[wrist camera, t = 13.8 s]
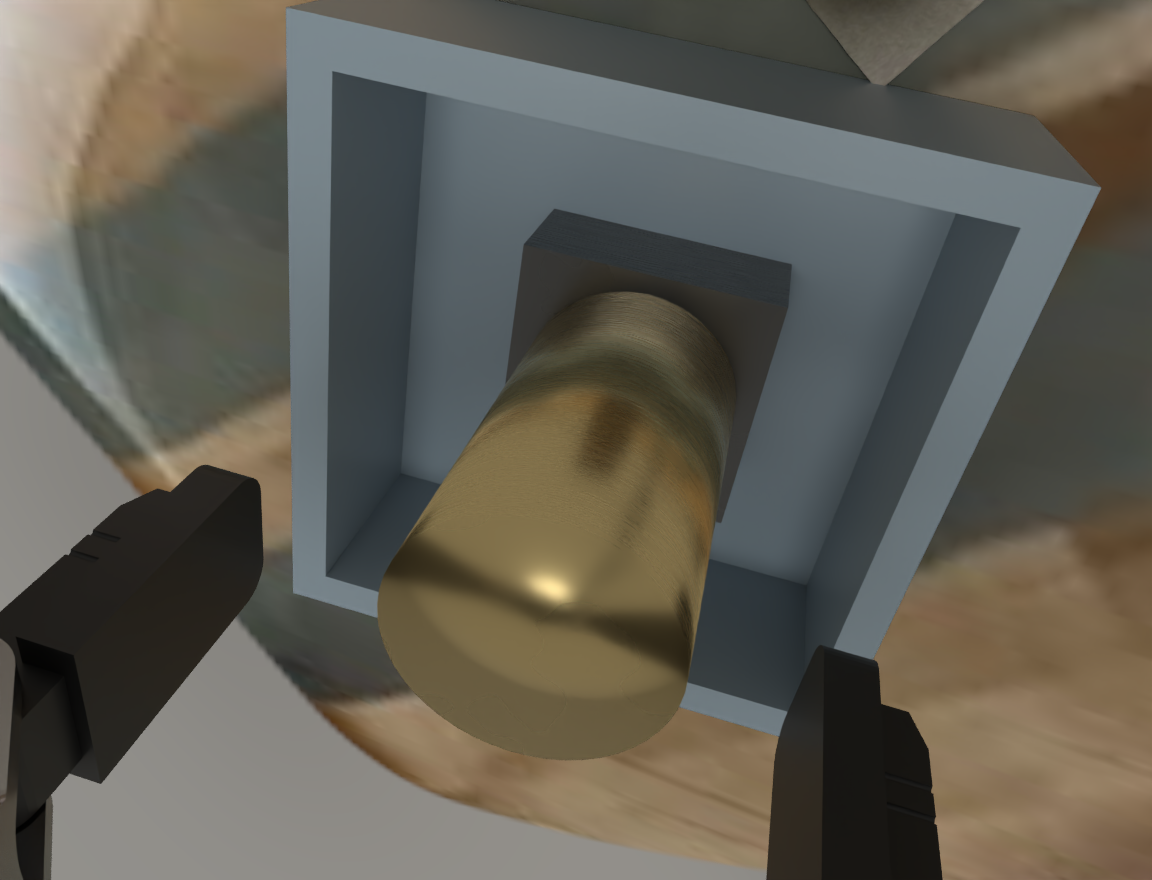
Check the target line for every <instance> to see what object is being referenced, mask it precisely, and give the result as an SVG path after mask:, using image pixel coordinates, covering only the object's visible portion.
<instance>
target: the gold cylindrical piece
mask: <svg viewBox="0 0 1152 880" xmlns="http://www.w3.org/2000/svg"><path fill="white" fill-rule="evenodd" d="M791 270H792V264H789V263H784V262H780V261H776V260H772V259H767V258H763V257H759V256H755V255H750V254H746V253H742V252H737V251H733V250H729V249H725V248H720V247H716V246H712V245H708V244H703V243H699V242H695V241H691V240H686V239H682V238H678V237H674V236H669V235H665V234H661V233H657V232H652V231H648V230H644V229H639V228H635V227H631V226H627V225H622V224H618V223H614V222H610V221H605V220H601V219H597V218H593V217H588V216H584V215H580V214H576V213H571V212H567V211H563V210H559V209H553V211H552V212H551V213H550V214H549V215H548V216H547V218H546V219H545V220H544V221H543V222H542V224H541V225H540V226H539V227H538V228H537V229H536V231H535V232H534V233H533V234H532V235H531V236H530V238H529V239H528V240H527V241H526V242H525V243H524V245H523V253H522V260H521V268H520V276H519V283H518V291H517V298H516V306H515V314H514V321H513V329H512V336H511V344H510V351H509V359H508V367H507V374H506V382H505V386H504V388H503V389H502V391H501V392H500V394H499V396H498V397H497V399H496V400H495V402H494V403H493V405H492V406H491V408H490V409H489V411H488V413H487V414H486V416H485V417H484V419H483V420H482V422H481V423H480V425H479V426H478V428H477V430H476V431H475V433H474V434H473V436H472V437H471V439H470V440H469V442H468V443H467V445H466V447H465V448H464V450H463V451H462V453H461V454H460V456H459V457H458V459H457V460H456V462H455V464H454V465H453V467H452V468H451V470H450V471H449V473H448V474H447V476H446V477H445V479H444V481H443V482H442V484H441V485H440V487H439V488H438V490H437V491H436V493H435V494H434V496H433V498H432V499H431V501H430V502H429V504H428V505H427V507H426V508H425V510H424V511H423V513H422V515H421V516H420V518H419V519H418V521H417V522H416V524H415V525H414V527H413V528H412V530H411V532H410V533H409V535H408V536H407V538H406V539H405V541H404V542H403V544H402V545H401V547H400V549H399V550H398V552H397V553H396V555H395V556H394V558H393V559H392V561H391V563H390V564H389V566H388V568H387V570H386V572H385V574H384V576H383V579H382V582H381V585H380V588H379V594H378V601H377V615H378V623H379V629H380V634H381V637H382V640H383V643H384V646H385V648H386V651H387V653H388V655H389V657H390V659H391V661H392V663H393V665H394V666H395V668H396V669H397V671H398V672H399V674H400V675H401V677H402V678H403V680H404V681H405V682H406V683H407V684H408V686H409V687H410V688H411V689H412V690H413V692H414V693H415V694H416V695H417V696H418V697H419V698H420V699H421V700H422V701H423V702H424V703H425V704H426V705H427V706H429V707H430V708H431V709H432V710H434V711H435V712H436V713H437V714H439V715H440V716H441V717H442V718H444V719H445V720H447V721H448V722H450V723H451V724H453V725H454V726H456V727H457V728H459V729H461V730H463V731H464V732H466V733H468V734H470V735H472V736H473V737H476V738H478V739H480V740H482V741H484V742H487V743H489V744H491V745H494V746H497V747H500V748H502V749H505V750H508V751H511V752H515V753H519V754H523V755H527V756H532V757H538V758H544V759H555V760H586V759H594V758H602V757H606V756H610V755H614V754H618V753H621V752H623V751H626V750H629V749H631V748H634V747H636V746H637V745H639V744H641V743H643V742H645V741H647V740H648V739H650V738H651V737H652V736H654V735H655V734H656V733H658V732H659V731H660V730H661V729H662V728H663V727H664V726H665V725H666V724H667V723H668V722H669V721H670V720H671V718H672V717H673V715H674V714H675V712H676V711H677V709H678V708H679V706H680V704H681V701H682V699H683V697H684V694H685V691H686V686H687V682H688V677H689V671H690V666H691V660H692V654H693V648H694V643H695V637H696V631H697V625H698V620H699V614H700V608H701V602H702V597H703V591H704V585H705V579H706V573H707V568H708V562H709V556H710V550H711V545H712V539H713V533H714V527H715V522H718V523H721V522H722V519H723V516H724V513H725V509H726V506H727V503H728V500H729V497H730V493H731V490H732V487H733V484H734V481H735V477H736V474H737V471H738V468H739V464H740V461H741V458H742V455H743V452H744V448H745V445H746V442H747V439H748V436H749V432H750V429H751V426H752V423H753V419H754V416H755V413H756V410H757V407H758V403H759V400H760V397H761V394H762V391H763V387H764V384H765V381H766V378H767V374H768V371H769V368H770V365H771V362H772V358H773V355H774V352H775V349H776V346H777V342H778V339H779V336H780V333H781V330H782V326H783V323H784V320H785V317H786V313H787V310H788V304H789V293H790V282H791Z"/></svg>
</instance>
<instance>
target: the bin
mask: <svg viewBox="0 0 1152 880" xmlns="http://www.w3.org/2000/svg"><path fill="white" fill-rule="evenodd" d="M286 54H287V134H288V214H289V294H290V374H291V453H292V533H293V593H296V594H299V595H303V596H306V597H309V598H313V599H316V600H320V601H323V602H326V603H330V604H333V605H336V606H340V607H343V608H347V609H350V610H353V611H357V612H360V613H363V614H367V615H370V616H374V617H377V618H378V615H377V601H378V594H379V588H380V585H381V582H382V579H383V576H384V574H385V572H386V570H387V568H388V566H389V564H390V563H391V561H392V559H393V558H394V556H395V555H396V553H397V552H398V550H399V549H400V547H401V545H402V544H403V542H404V541H405V539H406V538H407V536H408V535H409V533H410V532H411V530H412V528H413V527H414V525H415V524H416V522H417V521H418V519H419V518H420V516H421V515H422V513H423V511H424V510H425V508H426V507H427V505H428V504H429V502H430V501H431V499H432V498H433V496H434V494H435V493H436V491H437V490H438V488H439V487H440V485H441V484H442V482H443V481H444V479H445V477H446V476H447V474H448V473H449V471H450V470H451V468H452V467H453V465H454V464H455V462H456V460H457V459H458V457H459V456H460V454H461V453H462V451H463V450H464V448H465V447H466V445H467V443H468V442H469V440H470V439H471V437H472V436H473V434H474V433H475V431H476V430H477V428H478V426H479V425H480V423H481V422H482V420H483V419H484V417H485V416H486V414H487V413H488V411H489V409H490V408H491V406H492V405H493V403H494V402H495V400H496V399H497V397H498V396H499V394H500V392H501V391H502V389H503V388H504V386H505V382H506V374H507V367H508V359H509V351H510V344H511V336H512V329H513V321H514V314H515V306H516V298H517V291H518V283H519V276H520V268H521V260H522V253H523V245H524V243H525V242H526V241H527V240H528V239H529V238H530V236H531V235H532V234H533V233H534V232H535V231H536V229H537V228H538V227H539V226H540V225H541V224H542V222H543V221H544V220H545V219H546V218H547V216H548V215H549V214H550V213H551V212H552V211H553V209H559V210H563V211H567V212H571V213H576V214H580V215H584V216H588V217H593V218H597V219H601V220H605V221H610V222H614V223H618V224H622V225H627V226H631V227H635V228H639V229H644V230H648V231H652V232H657V233H661V234H665V235H669V236H674V237H678V238H682V239H686V240H691V241H695V242H699V243H703V244H708V245H712V246H716V247H720V248H725V249H729V250H733V251H737V252H742V253H746V254H750V255H755V256H759V257H763V258H767V259H772V260H776V261H780V262H784V263H789V264H792V270H791V282H790V293H789V304H788V310H787V313H786V317H785V320H784V323H783V326H782V330H781V333H780V336H779V339H778V342H777V346H776V349H775V352H774V355H773V358H772V362H771V365H770V368H769V371H768V374H767V378H766V381H765V384H764V387H763V391H762V394H761V397H760V400H759V403H758V407H757V410H756V413H755V416H754V419H753V423H752V426H751V429H750V432H749V436H748V439H747V442H746V445H745V448H744V452H743V455H742V458H741V461H740V464H739V468H738V471H737V474H736V477H735V481H734V484H733V487H732V490H731V493H730V497H729V500H728V503H727V506H726V509H725V513H724V516H723V519H722V522H721V523H718V522H715V527H714V533H713V539H712V545H711V550H710V556H709V562H708V568H707V573H706V579H705V585H704V591H703V597H702V602H701V608H700V614H699V620H698V625H697V631H696V637H695V643H694V648H693V654H692V660H691V666H690V671H689V677H688V682H687V686H686V691H685V694H684V697H683V699H682V701H681V704H680V706H679V707H681V708H684V709H688V710H691V711H694V712H698V713H701V714H705V715H708V716H711V717H715V718H718V719H721V720H725V721H728V722H732V723H735V724H738V725H742V726H745V727H748V728H752V729H755V730H759V731H762V732H765V733H769V734H772V735H776V736H779V735H780V732H781V728H782V725H783V722H784V719H785V717H786V715H787V712H788V710H789V708H790V706H791V703H792V701H793V699H794V696H795V694H796V692H797V690H798V687H799V685H800V683H801V681H802V678H803V676H804V674H805V672H806V669H807V667H808V665H809V663H810V660H811V658H812V656H813V654H814V652H815V650H816V648H817V647H818V646H819V645H824V646H827V647H830V648H834V649H837V650H841V651H844V652H848V653H851V654H855V655H858V656H861V657H865V658H868V659H872V660H873V658H874V656H875V654H876V652H877V650H878V648H879V646H880V644H881V642H882V640H883V638H884V636H885V634H886V632H887V630H888V627H889V625H890V623H891V621H892V619H893V617H894V615H895V613H896V611H897V609H898V607H899V605H900V603H901V601H902V598H903V596H904V594H905V592H906V590H907V588H908V586H909V584H910V582H911V580H912V578H913V576H914V574H915V572H916V570H917V567H918V565H919V563H920V561H921V559H922V557H923V555H924V553H925V551H926V549H927V547H928V545H929V543H930V541H931V539H932V536H933V534H934V532H935V530H936V528H937V526H938V524H939V522H940V520H941V518H942V516H943V514H944V512H945V510H946V508H947V505H948V503H949V501H950V499H951V497H952V495H953V493H954V491H955V489H956V487H957V485H958V483H959V481H960V479H961V477H962V474H963V472H964V470H965V468H966V466H967V464H968V462H969V460H970V458H971V456H972V454H973V452H974V450H975V448H976V445H977V443H978V441H979V439H980V437H981V435H982V433H983V431H984V429H985V427H986V425H987V423H988V421H989V419H990V417H991V414H992V412H993V410H994V408H995V406H996V404H997V402H998V400H999V398H1000V396H1001V394H1002V392H1003V390H1004V388H1005V386H1006V383H1007V381H1008V379H1009V377H1010V375H1011V373H1012V371H1013V369H1014V367H1015V365H1016V363H1017V361H1018V359H1019V357H1020V355H1021V352H1022V350H1023V348H1024V346H1025V344H1026V342H1027V340H1028V338H1029V336H1030V334H1031V332H1032V330H1033V328H1034V326H1035V323H1036V321H1037V319H1038V317H1039V315H1040V313H1041V311H1042V309H1043V307H1044V305H1045V303H1046V301H1047V299H1048V297H1049V295H1050V292H1051V290H1052V288H1053V286H1054V284H1055V282H1056V280H1057V278H1058V276H1059V274H1060V272H1061V270H1062V268H1063V266H1064V264H1065V261H1066V259H1067V257H1068V255H1069V253H1070V251H1071V249H1072V247H1073V245H1074V243H1075V241H1076V239H1077V237H1078V235H1079V233H1080V230H1081V228H1082V226H1083V224H1084V222H1085V220H1086V218H1087V216H1088V214H1089V212H1090V210H1091V208H1092V206H1093V204H1094V201H1095V199H1096V197H1097V195H1098V193H1099V191H1100V189H1101V187H1100V186H1099V185H1098V184H1097V183H1096V182H1095V180H1094V179H1093V178H1092V177H1091V176H1090V175H1089V174H1088V173H1087V172H1086V171H1085V170H1084V169H1083V168H1082V167H1081V165H1080V164H1079V163H1078V162H1077V161H1076V160H1075V159H1074V158H1073V157H1072V156H1071V155H1070V154H1069V153H1068V151H1067V150H1066V149H1065V148H1064V147H1063V146H1062V145H1061V144H1060V143H1059V142H1058V141H1057V140H1056V139H1055V138H1054V136H1053V135H1052V134H1051V133H1050V132H1049V131H1048V130H1047V129H1046V128H1045V127H1044V126H1043V125H1042V124H1041V122H1040V121H1039V120H1038V119H1037V118H1036V117H1035V116H1033V115H1028V114H1024V113H1019V112H1014V111H1010V110H1005V109H1001V108H996V107H991V106H987V105H982V104H977V103H973V102H968V101H963V100H959V99H954V98H949V97H945V96H940V95H935V94H931V93H926V92H921V91H917V90H912V89H907V88H903V87H898V86H893V85H889V84H887V85H886V86H883V85H879V84H874V83H871V82H870V80H865V79H861V78H856V77H851V76H847V75H842V74H837V73H833V72H828V71H823V70H819V69H814V68H809V67H805V66H800V65H795V64H791V63H786V62H781V61H777V60H772V59H767V58H763V57H758V56H753V55H749V54H744V53H739V52H735V51H730V50H725V49H721V48H716V47H711V46H707V45H702V44H697V43H693V42H688V41H683V40H679V39H674V38H669V37H665V36H660V35H655V34H651V33H646V32H641V31H637V30H632V29H627V28H623V27H618V26H613V25H609V24H604V23H599V22H595V21H590V20H585V19H581V18H576V17H571V16H567V15H562V14H557V13H553V12H548V11H543V10H539V9H534V8H530V7H525V6H520V5H516V4H511V3H506V2H502V1H497V0H318V1H313V2H309V3H304V4H299V5H295V6H290V7H286Z"/></svg>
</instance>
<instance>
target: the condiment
mask: <svg viewBox="0 0 1152 880" xmlns="http://www.w3.org/2000/svg"><path fill="white" fill-rule="evenodd" d="M806 1H807V3H808V4H809V5H810V7H811V8H812V10H813V11H814V12H815V13H816V14H817V15H818V16H819V18H820V19H821V20H822V21H823V23H824V24H825V25H826V26H827V28H828V29H829V30H830V31H831V33H832V34H833V35H834V36H835V38H836V39H837V40H838V41H839V43H840V44H841V45H842V47H843V48H844V49H845V51H846V52H847V53H848V54H849V56H850V57H851V58H852V59H853V61H854V62H855V63H856V64H857V65H858V67H859V68H860V69H861V70H862V72H863V73H864V74H865V75H866V77H867V78H868V79H869V80H870V82H871V83H874V84H879V85H883V86H886V85H887V84H888V83H889V82H890V81H892V80H893V79H894V78H895V77H896V76H897V75H898V74H900V73H901V72H902V71H903V70H905V69H906V68H907V67H908V66H909V65H910V64H911V63H912V62H913V61H914V60H915V59H916V58H918V57H919V56H920V55H921V54H922V53H923V52H924V51H925V50H927V49H928V48H929V47H930V46H931V45H933V44H934V43H935V42H936V41H937V40H939V39H940V38H941V37H942V36H943V35H944V34H946V33H947V32H948V31H949V30H950V29H951V28H952V27H954V26H955V25H956V24H957V23H958V22H959V21H961V20H962V19H963V18H964V17H965V16H966V15H968V14H969V13H970V12H971V11H972V10H974V9H975V8H976V7H977V6H978V5H980V4H981V3H982V2H983V1H984V0H806Z"/></svg>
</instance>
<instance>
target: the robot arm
mask: <svg viewBox="0 0 1152 880" xmlns="http://www.w3.org/2000/svg"><path fill="white" fill-rule="evenodd" d="M262 567H263V535H262V510H261V490H260V485H259V483H258V481H257V480H256V479H254V478H251V477H247V476H244V475H240V474H237V473H234V472H230V471H227V470H223V469H220V468H216V467H213V466H209V465H202V466H200V467H198V468H196V469H195V470H194V471H193V472H192V473H190V474H189V475H188V476H187V477H186V478H185V479H184V480H183V481H182V482H181V483H180V484H179V485H178V486H176V487H175V488H174V489H173V490H172V491H171V492H168V491H164V490H161V489H156V490H153V491H151V492H149V493H147V494H145V495H142V496H140V497H138V498H136V499H134V500H132V501H129V502H127V503H125V504H123V505H121V506H119V507H118V508H117V509H116V510H115V511H114V512H113V513H112V514H110V515H109V516H108V517H107V518H106V519H105V520H104V521H103V522H101V523H100V524H99V525H98V526H97V527H96V528H95V529H94V530H93V533H92V535H87V536H86V537H84V538H83V539H82V540H81V541H80V542H79V543H78V544H77V545H75V546H74V547H73V548H72V549H71V553H70V554H69V555H64V556H63V557H62V558H61V559H60V560H58V561H57V562H56V563H55V564H54V565H53V566H51V567H50V568H49V569H48V570H47V571H46V572H45V573H44V574H42V575H41V576H40V577H39V578H38V579H37V580H36V581H35V582H33V583H32V585H30V586H29V587H28V588H27V589H25V590H24V591H23V592H22V593H21V594H20V595H19V596H18V597H16V598H15V599H14V600H13V601H12V602H11V603H10V604H8V606H6V607H5V608H4V609H3V610H2V611H1V612H0V880H51V861H52V824H53V803H52V796H51V794H52V793H53V792H54V791H55V790H56V788H57V787H58V786H59V785H60V784H61V783H62V781H63V780H64V779H65V778H66V777H67V776H68V774H69V773H70V774H73V775H76V776H79V777H82V778H85V779H88V780H91V781H94V782H97V783H100V784H101V783H102V782H103V781H104V780H105V778H106V777H107V776H108V775H109V773H110V772H111V771H112V770H113V768H114V767H115V766H116V765H117V763H118V762H119V761H120V760H121V759H122V757H123V756H124V755H125V754H126V752H127V751H128V750H129V749H130V747H131V746H132V745H133V744H134V742H135V741H136V740H137V739H138V737H139V736H140V735H141V734H142V733H143V731H144V730H145V728H147V726H148V725H149V724H150V723H151V721H152V720H153V719H154V718H155V716H156V715H157V714H158V713H159V711H160V710H161V709H162V708H163V706H164V705H165V704H166V703H167V702H168V700H169V699H170V698H171V697H172V695H173V694H174V693H175V692H176V690H177V689H178V688H179V687H180V685H181V684H182V683H183V682H184V680H185V679H186V678H187V677H188V675H189V674H190V673H191V672H192V671H193V669H194V668H195V667H196V666H197V664H198V663H199V662H200V661H201V659H202V658H203V657H204V655H205V654H206V653H207V652H208V651H209V649H210V648H211V647H212V646H213V644H214V643H215V642H216V641H217V640H218V638H219V637H220V636H221V635H222V633H223V632H224V631H225V630H226V628H227V627H228V626H229V625H230V623H231V622H232V621H233V620H234V618H235V617H236V616H237V615H238V613H239V612H240V611H241V610H242V609H243V607H244V606H245V605H246V604H247V602H248V601H249V599H250V598H251V596H252V595H253V593H254V591H255V589H256V587H257V584H258V582H259V579H260V576H261V572H262ZM931 789H932V778H931V768H930V759H929V750H928V748H927V746H926V744H925V742H924V740H923V738H922V736H921V734H920V732H919V731H918V729H917V727H916V725H915V723H914V721H913V719H912V717H911V716H910V714H909V712H906V711H903V710H900V709H896V708H893V707H889V706H886V705H883V704H881V696H880V679H879V667H878V664H877V662H876V661H875V660H872V659H868V658H865V657H861V656H858V655H855V654H851V653H848V652H844V651H841V650H837V649H834V648H830V647H827V646H824V645H819V646H818V647H817V648H816V650H815V652H814V654H813V656H812V658H811V660H810V663H809V665H808V667H807V669H806V672H805V674H804V676H803V678H802V681H801V683H800V685H799V687H798V690H797V692H796V694H795V696H794V699H793V701H792V703H791V706H790V708H789V710H788V712H787V715H786V717H785V719H784V722H783V725H782V728H781V732H780V735H779V739H778V744H777V749H776V754H775V761H774V774H773V789H772V804H771V819H770V834H769V849H768V864H767V879H766V880H943V879H942V870H941V861H940V851H939V842H938V833H937V825H936V824H934V821H935V817H936V814H935V805H934V796H933V794H932V793H931Z"/></svg>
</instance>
